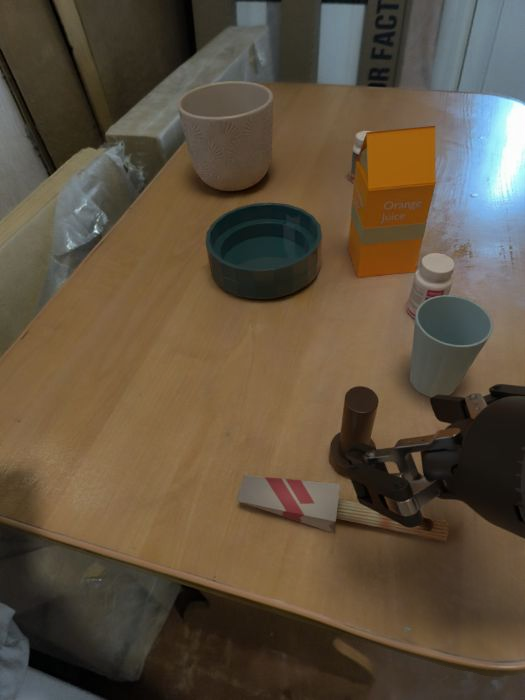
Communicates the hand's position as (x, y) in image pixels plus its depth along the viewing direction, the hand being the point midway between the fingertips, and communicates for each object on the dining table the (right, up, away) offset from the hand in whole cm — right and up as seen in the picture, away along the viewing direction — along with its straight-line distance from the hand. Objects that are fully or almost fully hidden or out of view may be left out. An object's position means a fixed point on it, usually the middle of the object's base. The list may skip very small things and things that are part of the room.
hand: (395, 429), depth 37 cm
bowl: (-10, +20, +35) cm, 41 cm away
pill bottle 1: (+8, +39, +51) cm, 65 cm away
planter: (-17, +41, +54) cm, 69 cm away
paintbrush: (-3, -10, +8) cm, 13 cm away
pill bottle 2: (+12, +12, +26) cm, 31 cm away
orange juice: (+8, +21, +34) cm, 41 cm away
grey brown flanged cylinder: (-1, -5, +12) cm, 13 cm away
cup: (+10, +3, +18) cm, 21 cm away
